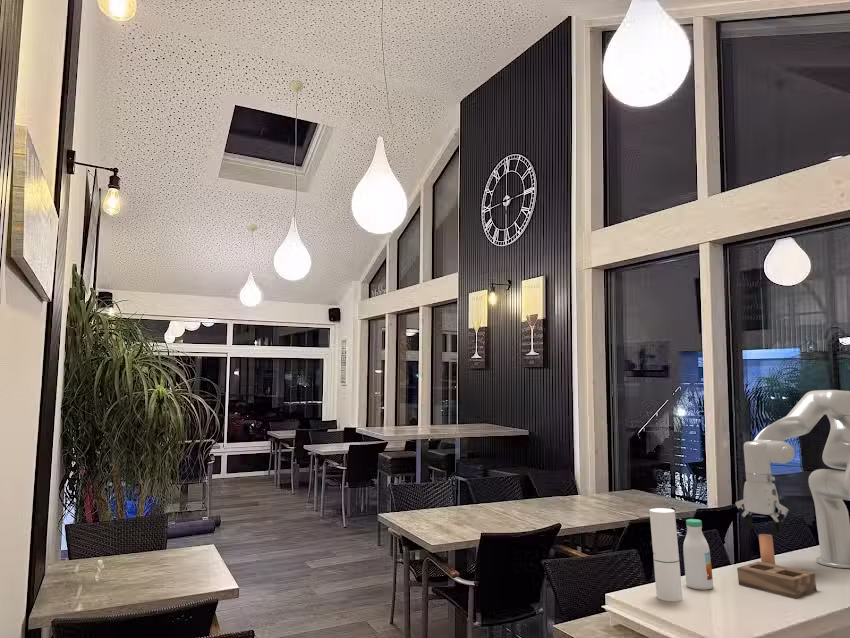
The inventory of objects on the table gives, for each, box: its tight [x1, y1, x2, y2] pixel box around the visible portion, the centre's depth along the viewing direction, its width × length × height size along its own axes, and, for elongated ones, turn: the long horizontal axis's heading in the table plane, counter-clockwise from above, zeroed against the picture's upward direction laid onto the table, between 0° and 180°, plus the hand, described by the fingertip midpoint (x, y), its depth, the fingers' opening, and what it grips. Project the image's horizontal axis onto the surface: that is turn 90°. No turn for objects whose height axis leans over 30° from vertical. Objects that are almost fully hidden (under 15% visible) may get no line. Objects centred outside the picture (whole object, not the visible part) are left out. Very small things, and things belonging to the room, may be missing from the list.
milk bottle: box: [682, 518, 714, 591], centre depth 189 cm, size 8×8×20 cm
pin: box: [758, 533, 776, 565], centre depth 199 cm, size 4×4×12 cm
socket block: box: [736, 560, 817, 599], centre depth 184 cm, size 12×17×5 cm
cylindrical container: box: [649, 507, 683, 602], centre depth 180 cm, size 7×7×25 cm
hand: (763, 531), depth 200 cm, fingers open, 9 cm apart
